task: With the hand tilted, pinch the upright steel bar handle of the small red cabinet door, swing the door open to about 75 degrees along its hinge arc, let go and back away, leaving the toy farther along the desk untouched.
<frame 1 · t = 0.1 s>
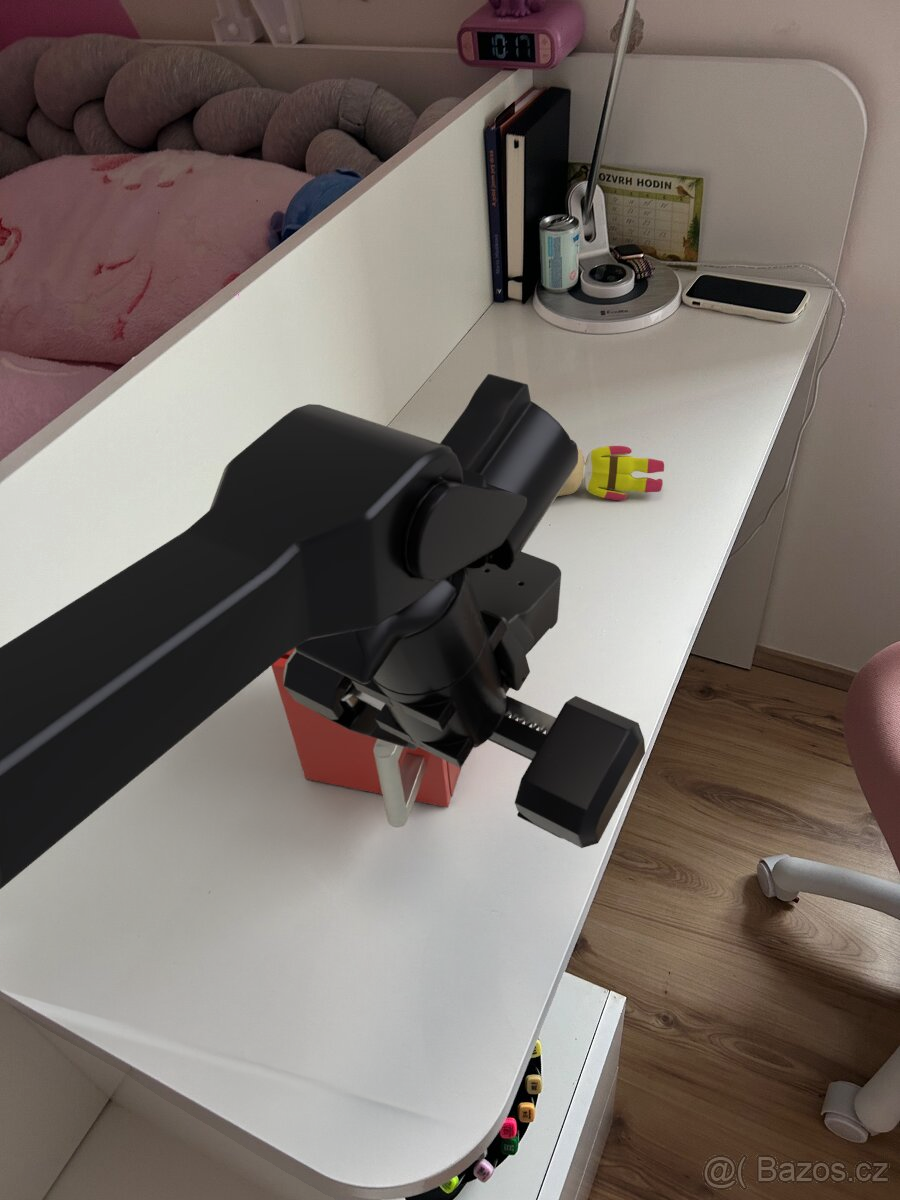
hand: (482, 774, 54), 14 cm above the table, tool pointing down, fingers open, 9 cm apart
toy: (587, 493, 96), on the table
red cabinet door: (353, 764, 64), point 7 cm above the table, hinge at 0.0°
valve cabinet: (399, 732, 75), on the table
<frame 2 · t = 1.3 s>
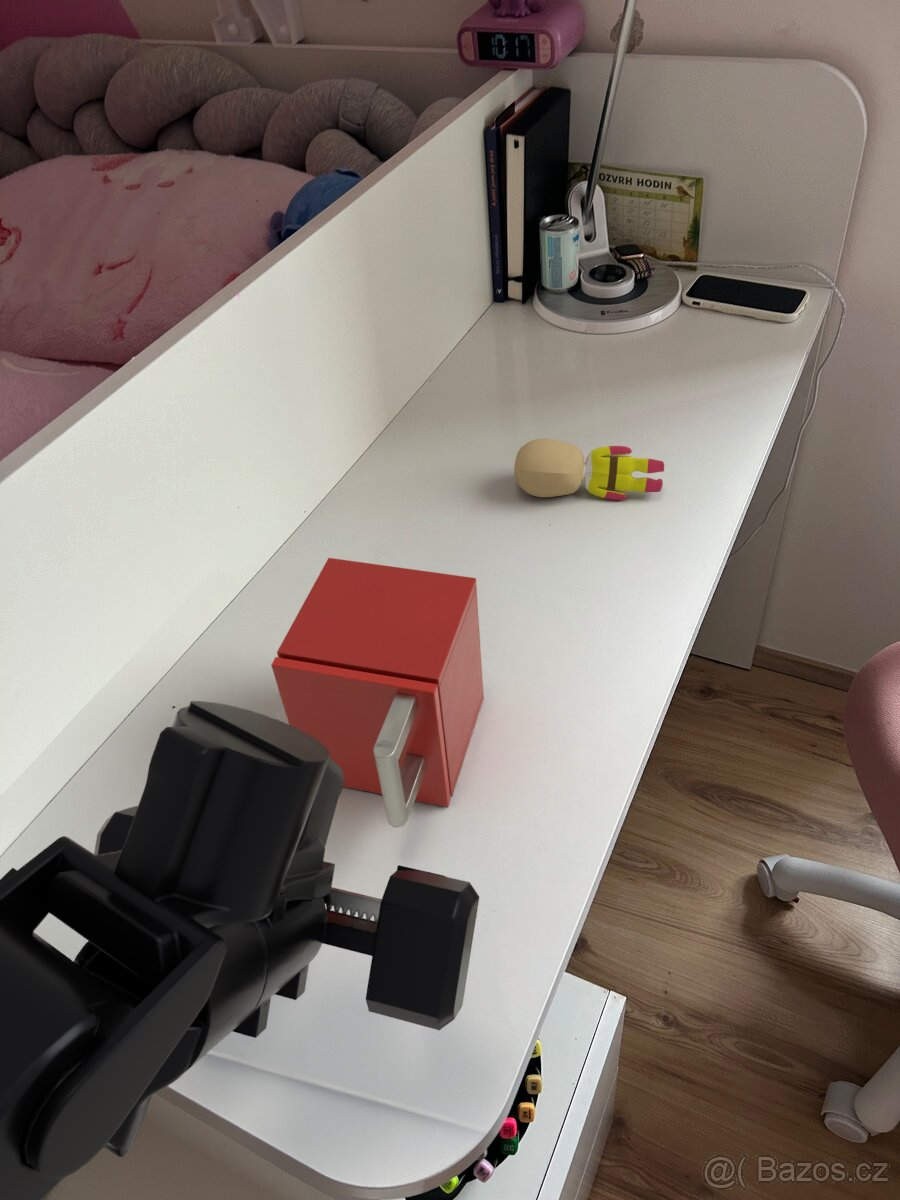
hand: (338, 869, 52), 13 cm above the table, tool tilted 45°, fingers open, 9 cm apart
nothing on the table moved.
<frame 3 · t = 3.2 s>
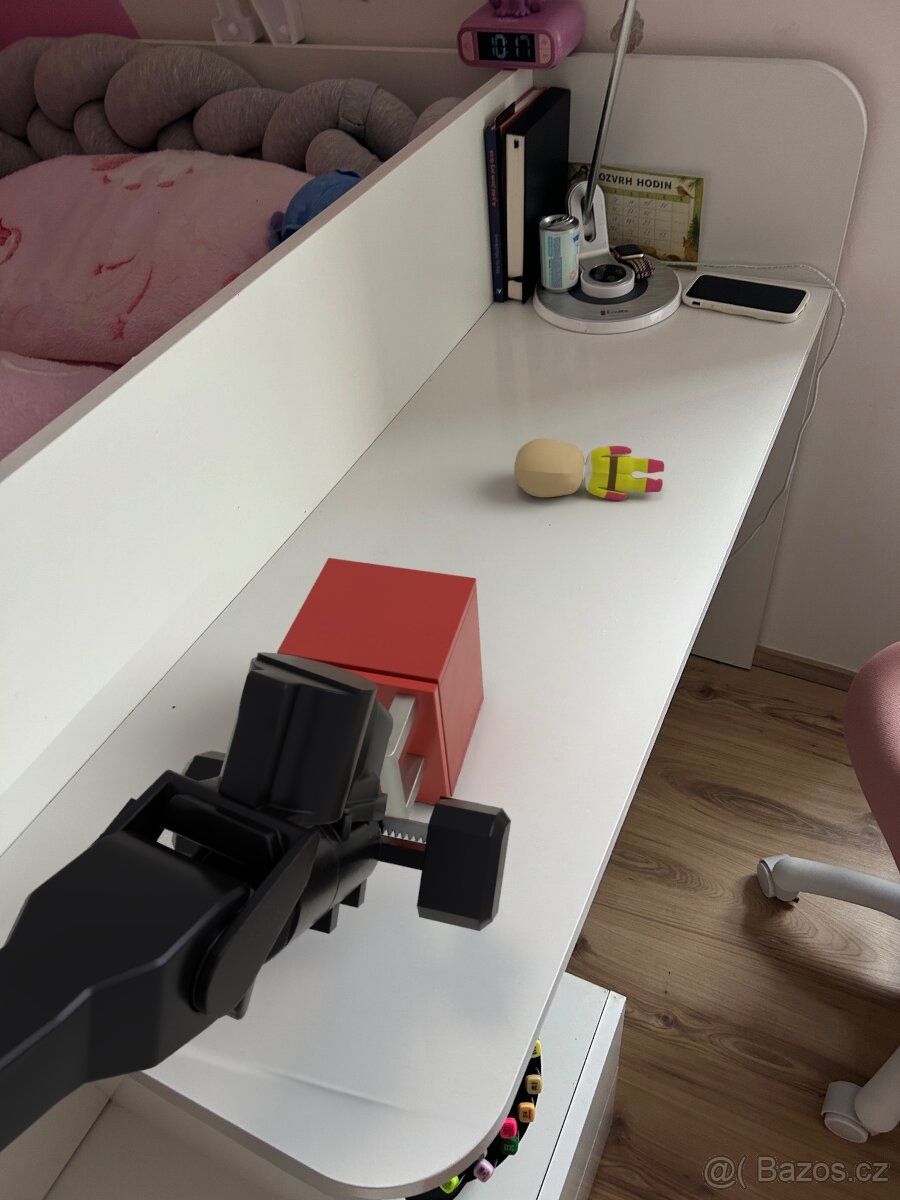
hand: (383, 806, 59), 9 cm above the table, tool tilted 45°, fingers open, 9 cm apart
nothing on the table moved.
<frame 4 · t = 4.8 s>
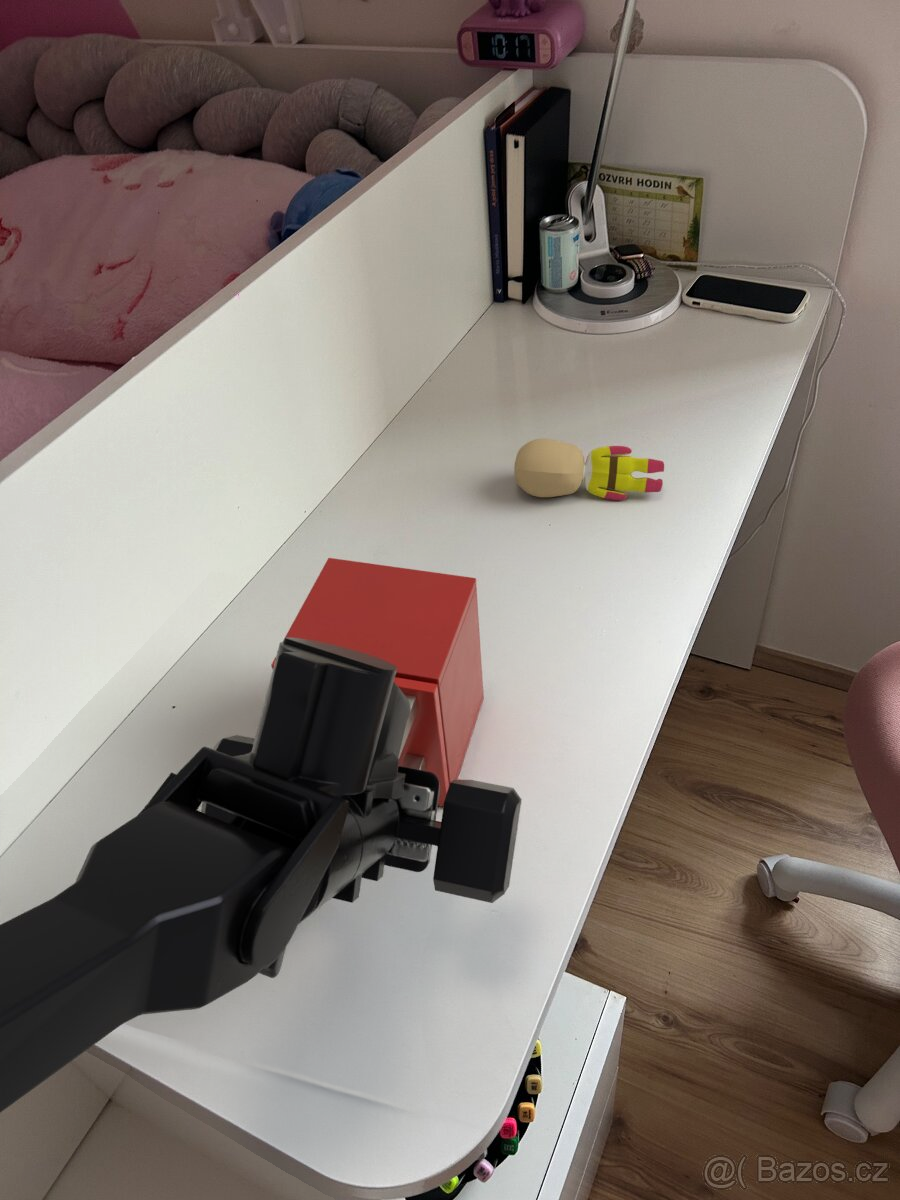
hand: (398, 789, 62), 7 cm above the table, tool tilted 45°, fingers closed on red cabinet door
red cabinet door: (353, 764, 64), point 7 cm above the table, hinge at 0.0°, touching gripper
everything else where it was.
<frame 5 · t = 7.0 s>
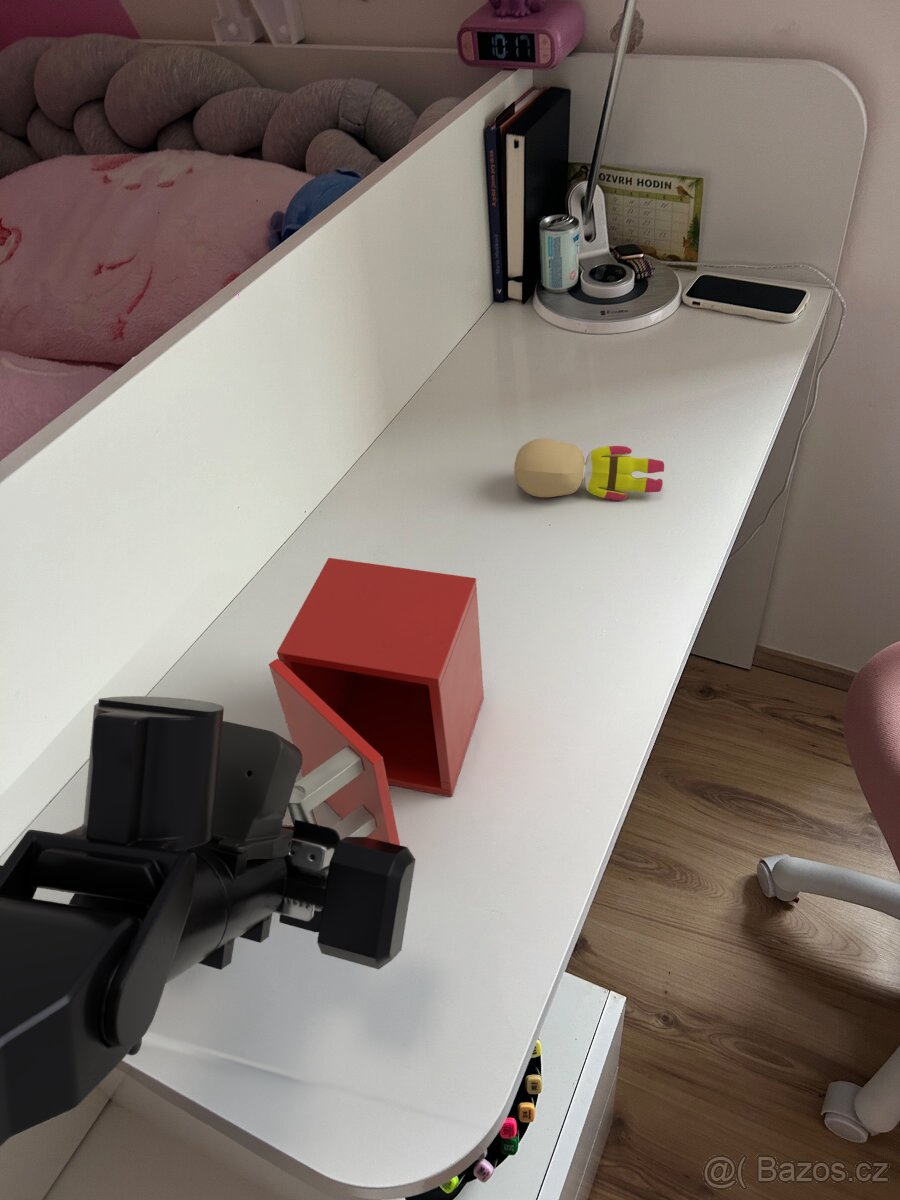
hand: (309, 837, 60), 7 cm above the table, tool tilted 45°, fingers closed
red cabinet door: (307, 790, 63), point 7 cm above the table, hinge at 32.9°, touching gripper
everything else where it was.
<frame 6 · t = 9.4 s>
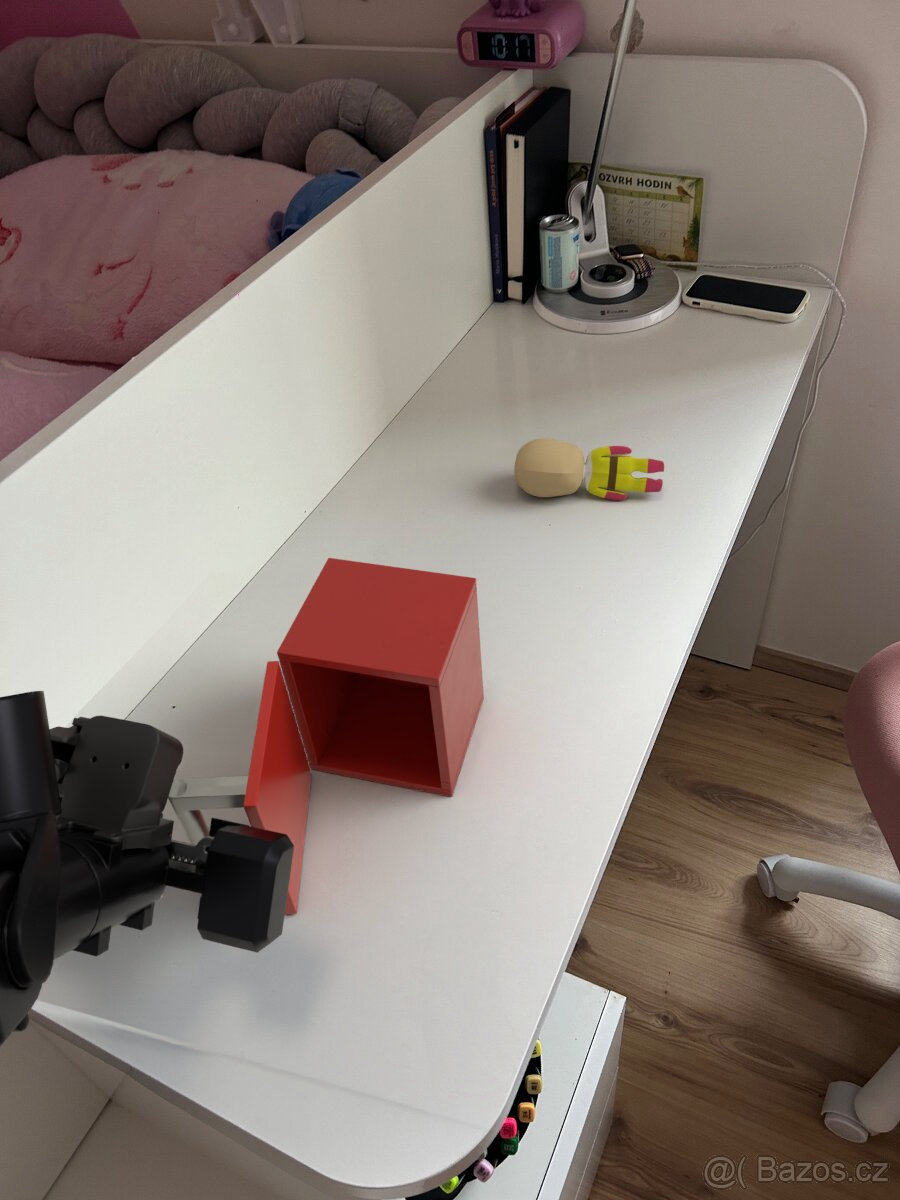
hand: (203, 829, 62), 7 cm above the table, tool tilted 45°, fingers open, 6 cm apart
red cabinet door: (244, 790, 63), point 7 cm above the table, hinge at 73.4°, touching gripper
everything else where it was.
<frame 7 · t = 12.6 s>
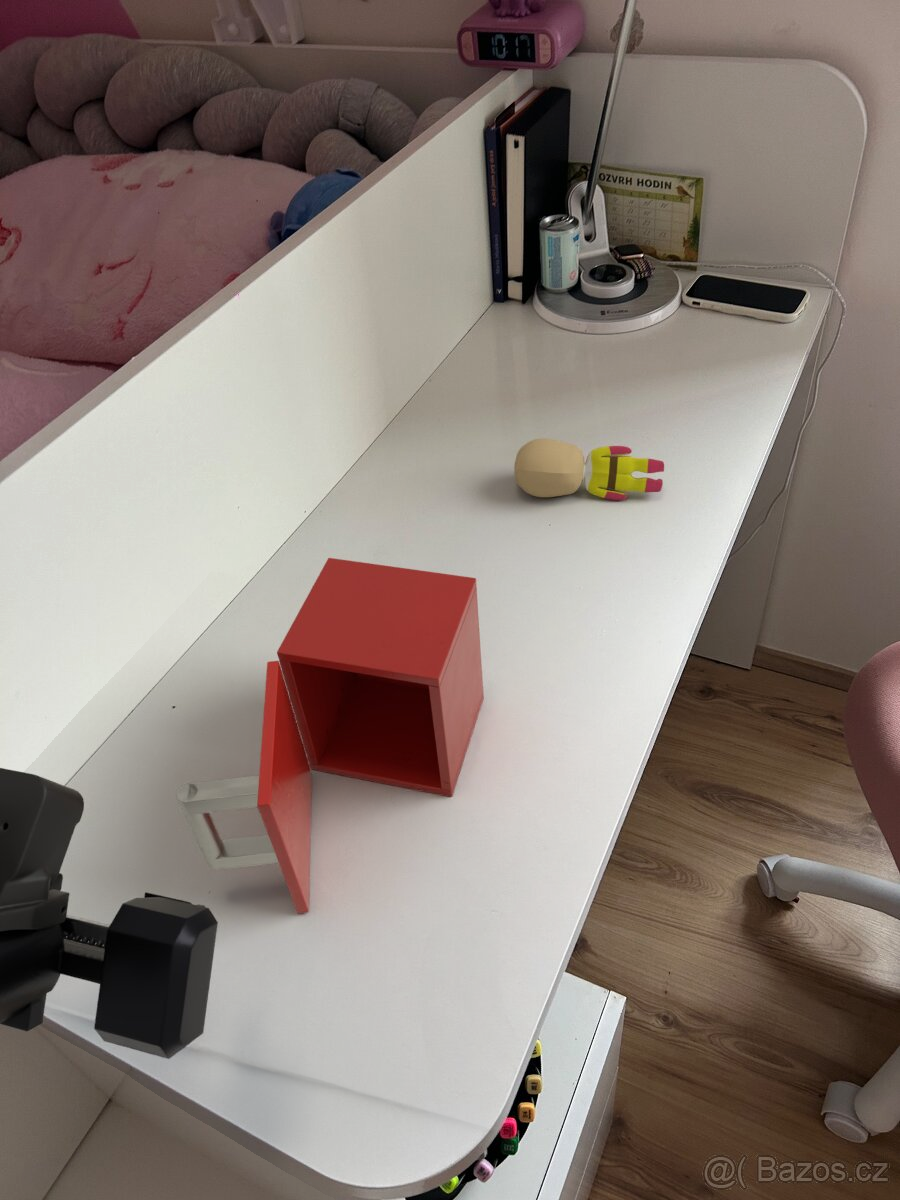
hand: (129, 897, 52), 12 cm above the table, tool tilted 45°, fingers open, 9 cm apart
red cabinet door: (250, 792, 63), point 7 cm above the table, hinge at 69.3°
everything else where it was.
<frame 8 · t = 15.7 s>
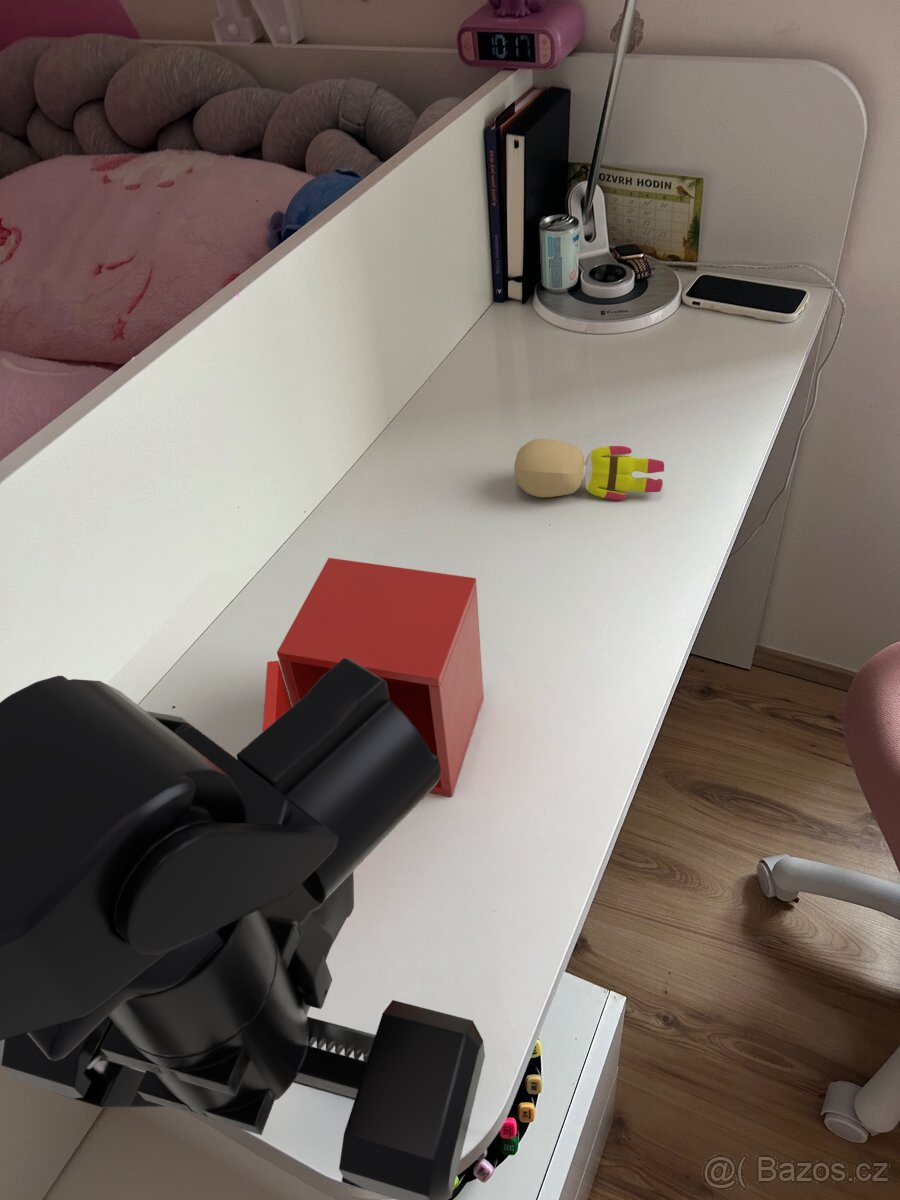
hand: (282, 1119, 43), 13 cm above the table, tool pointing down, fingers open, 9 cm apart
nothing on the table moved.
at the end: red cabinet door at +69° (first picture: +0°); toy moved 0.2 cm from its start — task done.
